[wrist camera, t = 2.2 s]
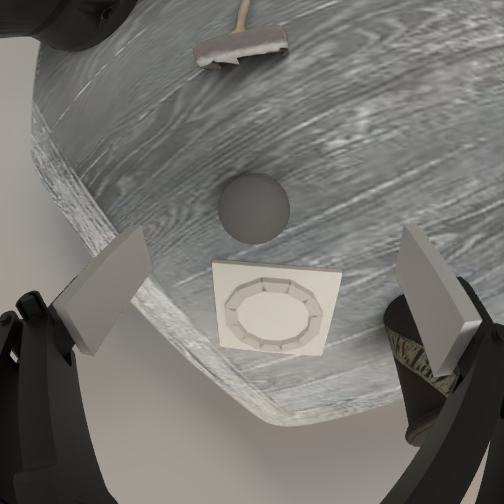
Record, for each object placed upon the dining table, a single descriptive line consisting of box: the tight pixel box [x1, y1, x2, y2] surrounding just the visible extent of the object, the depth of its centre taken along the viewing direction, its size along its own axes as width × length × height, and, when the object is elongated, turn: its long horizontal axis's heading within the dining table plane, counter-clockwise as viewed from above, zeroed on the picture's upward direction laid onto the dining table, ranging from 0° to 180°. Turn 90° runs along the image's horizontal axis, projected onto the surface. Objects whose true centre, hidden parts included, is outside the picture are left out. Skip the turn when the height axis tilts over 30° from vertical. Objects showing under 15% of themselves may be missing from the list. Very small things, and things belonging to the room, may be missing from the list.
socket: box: [212, 259, 342, 356], centre depth 38 cm, size 16×16×2 cm
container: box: [384, 295, 460, 447], centre depth 28 cm, size 9×9×20 cm
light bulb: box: [218, 174, 290, 244], centre depth 26 cm, size 6×6×10 cm
